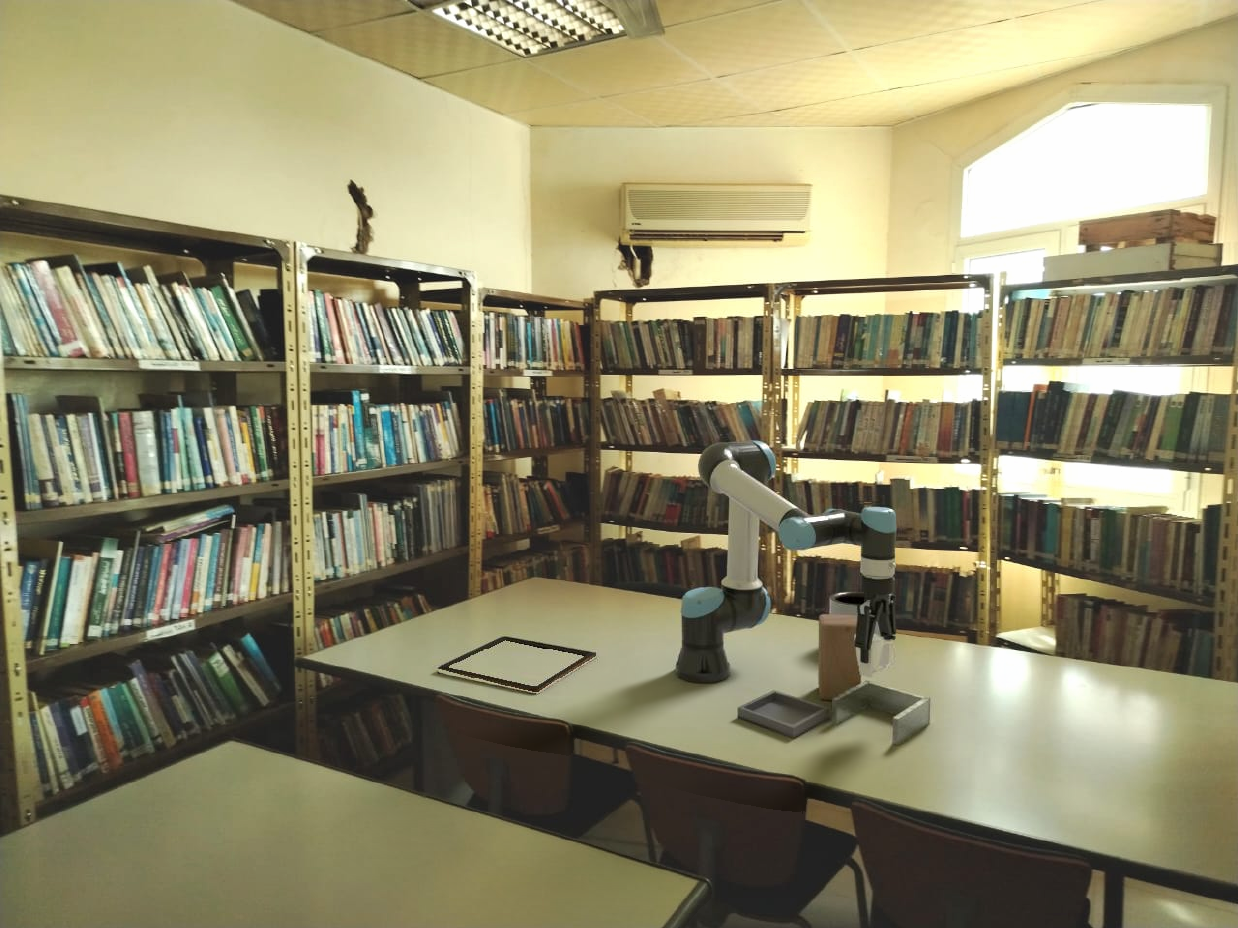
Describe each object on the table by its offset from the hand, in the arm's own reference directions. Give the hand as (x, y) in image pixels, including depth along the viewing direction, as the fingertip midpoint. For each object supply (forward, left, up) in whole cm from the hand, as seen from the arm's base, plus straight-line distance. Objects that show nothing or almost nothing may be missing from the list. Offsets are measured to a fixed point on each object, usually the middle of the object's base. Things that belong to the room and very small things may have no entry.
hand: (875, 670), depth 181 cm
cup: (0, 0, 0) cm, 0 cm away
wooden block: (-16, +11, -14) cm, 24 cm away
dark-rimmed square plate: (-94, -34, -14) cm, 101 cm away
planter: (-31, +46, -14) cm, 57 cm away
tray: (-18, -11, -13) cm, 25 cm away
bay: (0, +3, -13) cm, 14 cm away
